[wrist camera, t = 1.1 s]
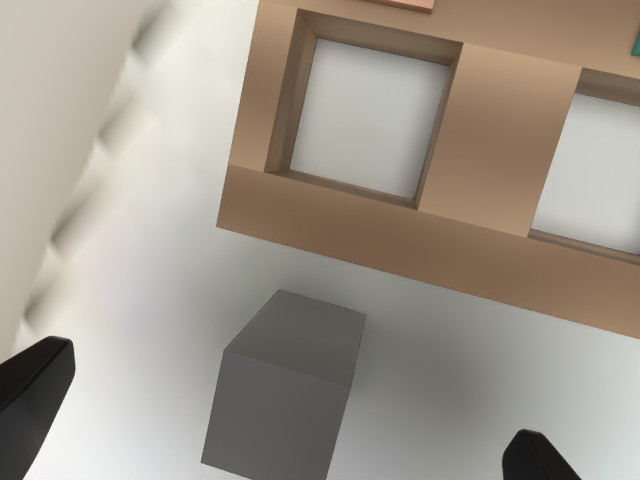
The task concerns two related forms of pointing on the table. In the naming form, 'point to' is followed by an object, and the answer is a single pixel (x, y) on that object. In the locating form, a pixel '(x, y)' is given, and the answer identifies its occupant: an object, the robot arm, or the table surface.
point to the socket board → (446, 147)
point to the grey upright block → (284, 390)
